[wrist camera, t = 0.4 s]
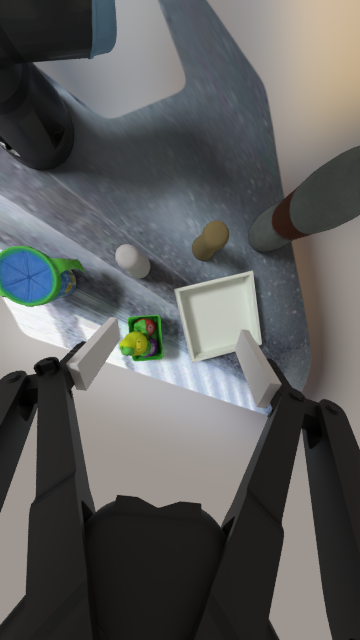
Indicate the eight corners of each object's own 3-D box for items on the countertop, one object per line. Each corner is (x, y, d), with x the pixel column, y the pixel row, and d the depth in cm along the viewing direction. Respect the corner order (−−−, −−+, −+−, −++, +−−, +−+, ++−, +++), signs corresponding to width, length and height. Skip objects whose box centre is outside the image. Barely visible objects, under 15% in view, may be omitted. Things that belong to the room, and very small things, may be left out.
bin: (173, 289, 40) (174, 289, 37) (244, 272, 41) (252, 270, 38) (189, 356, 45) (192, 362, 41) (253, 339, 46) (261, 344, 42)
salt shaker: (147, 252, 38) (138, 234, 25) (153, 275, 39) (148, 269, 27) (124, 258, 38) (104, 242, 25) (131, 281, 39) (115, 277, 26)
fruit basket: (163, 351, 44) (163, 372, 33) (131, 354, 43) (120, 376, 32) (160, 311, 41) (159, 319, 30) (127, 313, 41) (113, 322, 30)
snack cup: (84, 249, 37) (54, 234, 27) (101, 292, 39) (79, 293, 29) (19, 267, 36) (-36, 258, 26) (40, 310, 38) (-4, 317, 28)
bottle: (259, 261, 41) (491, 192, 12) (238, 234, 39) (451, 74, 10) (286, 235, 41) (598, 95, 11) (265, 207, 39) (575, -49, 10)
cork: (211, 263, 40) (229, 253, 29) (189, 257, 39) (198, 245, 29) (217, 239, 39) (237, 219, 28) (195, 232, 38) (206, 210, 28)
